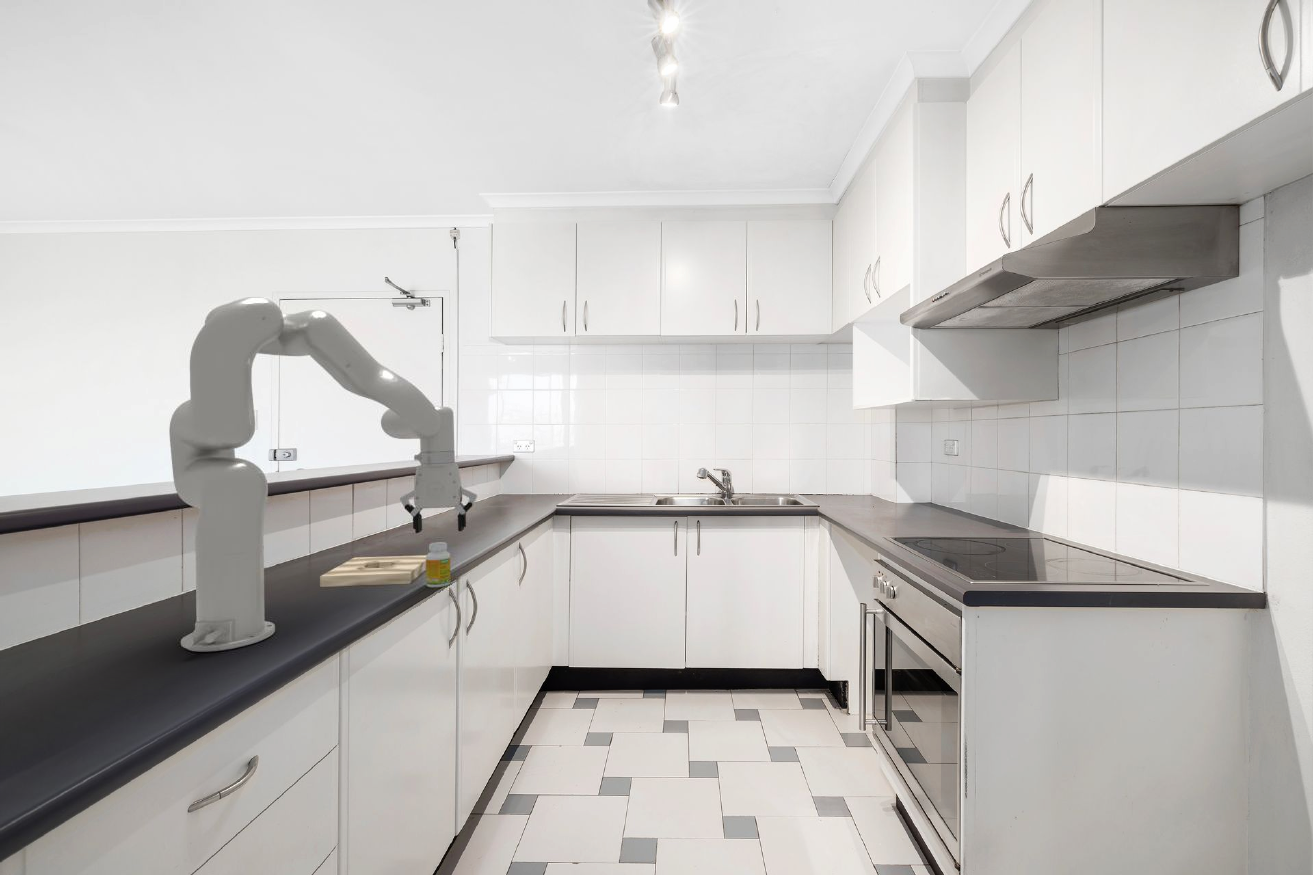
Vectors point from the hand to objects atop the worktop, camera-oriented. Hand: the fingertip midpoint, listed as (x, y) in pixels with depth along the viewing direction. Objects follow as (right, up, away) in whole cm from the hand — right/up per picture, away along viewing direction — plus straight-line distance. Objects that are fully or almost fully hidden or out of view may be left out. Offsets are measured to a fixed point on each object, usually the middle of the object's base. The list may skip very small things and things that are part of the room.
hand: (440, 531), depth 135 cm
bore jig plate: (-19, -13, +9) cm, 24 cm away
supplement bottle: (0, -13, 0) cm, 13 cm away
